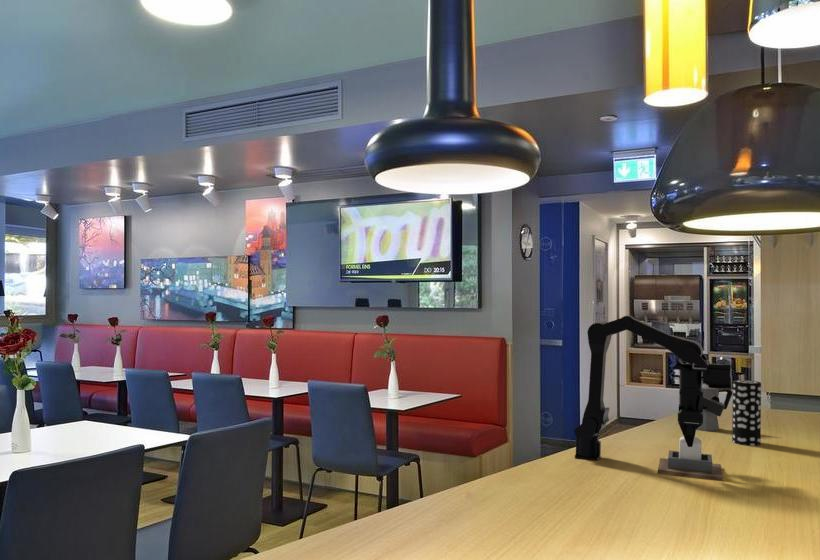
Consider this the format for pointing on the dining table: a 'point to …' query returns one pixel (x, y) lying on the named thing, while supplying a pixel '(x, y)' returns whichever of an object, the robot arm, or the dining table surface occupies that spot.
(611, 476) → the dining table surface
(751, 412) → the white-spotted black cylinder
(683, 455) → the eye dropper bottle
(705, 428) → the coffeepot
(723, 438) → the dining table surface
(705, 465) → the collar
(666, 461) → the socket board
